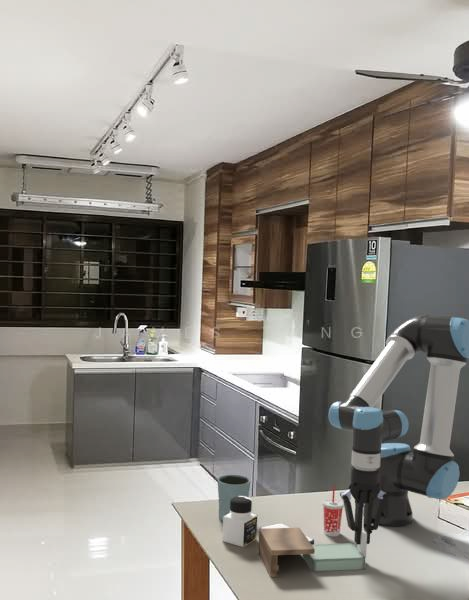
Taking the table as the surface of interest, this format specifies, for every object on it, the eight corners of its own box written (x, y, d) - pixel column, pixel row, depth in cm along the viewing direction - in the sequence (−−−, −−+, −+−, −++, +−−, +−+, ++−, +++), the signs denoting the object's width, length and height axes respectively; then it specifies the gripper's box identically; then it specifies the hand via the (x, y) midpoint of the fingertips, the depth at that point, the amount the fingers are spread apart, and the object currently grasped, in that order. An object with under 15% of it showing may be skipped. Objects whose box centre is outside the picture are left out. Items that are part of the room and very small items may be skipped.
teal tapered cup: (226, 526, 193) (227, 486, 193) (209, 515, 202) (211, 476, 202) (255, 521, 199) (256, 481, 198) (238, 510, 207) (239, 472, 207)
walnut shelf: (298, 552, 177) (299, 527, 177) (313, 575, 163) (314, 549, 163) (258, 553, 175) (259, 528, 175) (270, 577, 161) (271, 550, 161)
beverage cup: (333, 528, 196) (336, 481, 195) (346, 535, 190) (348, 487, 190) (317, 531, 193) (319, 483, 192) (329, 538, 187) (331, 490, 187)
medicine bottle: (243, 547, 179) (245, 504, 178) (221, 541, 182) (223, 498, 182) (256, 539, 185) (258, 497, 184) (235, 533, 188) (237, 492, 188)
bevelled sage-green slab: (352, 554, 177) (352, 543, 177) (364, 568, 168) (365, 557, 168) (302, 556, 175) (302, 545, 175) (312, 571, 166) (313, 559, 166)
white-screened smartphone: (257, 532, 191) (291, 552, 178) (257, 527, 191) (291, 546, 178) (281, 527, 196) (316, 545, 183) (281, 522, 196) (316, 540, 183)
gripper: (347, 471, 167) (342, 562, 168) (394, 470, 170) (390, 560, 170) (337, 463, 175) (333, 550, 175) (383, 462, 177) (378, 549, 178)
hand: (361, 555), depth 173 cm, fingers closed
